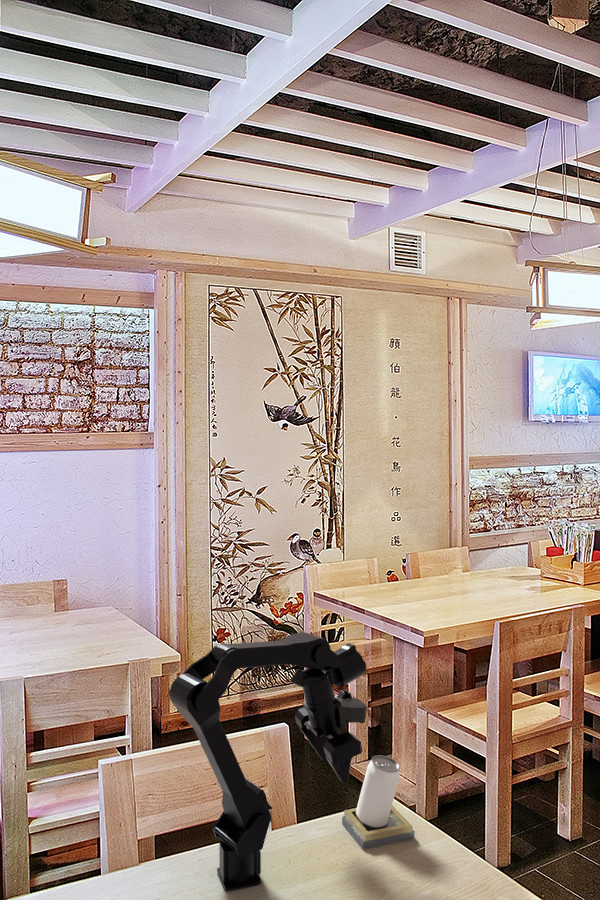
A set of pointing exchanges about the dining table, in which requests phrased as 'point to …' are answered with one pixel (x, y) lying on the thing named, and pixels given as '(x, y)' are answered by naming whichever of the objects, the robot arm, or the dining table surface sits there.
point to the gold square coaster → (378, 830)
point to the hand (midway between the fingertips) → (335, 770)
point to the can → (378, 791)
